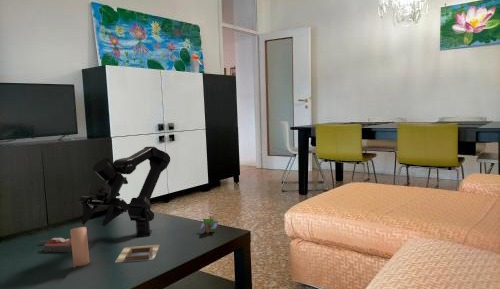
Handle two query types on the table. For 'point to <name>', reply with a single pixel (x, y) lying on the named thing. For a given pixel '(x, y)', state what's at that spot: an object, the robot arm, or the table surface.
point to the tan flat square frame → (126, 250)
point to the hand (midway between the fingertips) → (92, 224)
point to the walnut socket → (139, 257)
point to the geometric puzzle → (209, 225)
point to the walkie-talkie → (57, 245)
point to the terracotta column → (79, 246)
